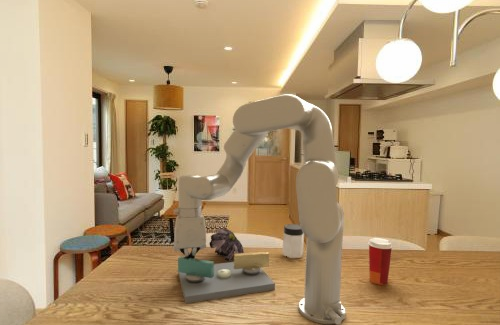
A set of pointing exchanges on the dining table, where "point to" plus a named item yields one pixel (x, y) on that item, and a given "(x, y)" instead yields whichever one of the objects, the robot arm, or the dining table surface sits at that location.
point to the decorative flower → (226, 243)
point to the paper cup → (379, 260)
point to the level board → (225, 284)
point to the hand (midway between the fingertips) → (189, 266)
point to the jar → (293, 241)
